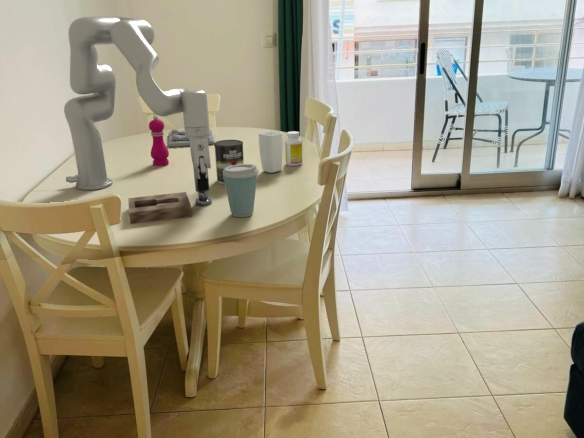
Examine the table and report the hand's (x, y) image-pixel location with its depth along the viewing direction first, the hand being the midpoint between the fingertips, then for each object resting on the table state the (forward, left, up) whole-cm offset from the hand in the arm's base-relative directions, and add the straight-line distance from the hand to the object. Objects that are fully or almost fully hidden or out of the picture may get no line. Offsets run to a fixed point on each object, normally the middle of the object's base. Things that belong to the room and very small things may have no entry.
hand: (202, 187), depth 172 cm
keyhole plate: (-14, -4, -5) cm, 16 cm away
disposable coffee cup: (+10, -14, -6) cm, 18 cm away
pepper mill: (-10, +55, -6) cm, 56 cm away
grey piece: (+7, +97, -6) cm, 97 cm away
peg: (0, 0, -5) cm, 5 cm away
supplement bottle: (+41, +35, -6) cm, 54 cm away
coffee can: (+13, +22, -6) cm, 26 cm away
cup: (+30, +28, -6) cm, 41 cm away
